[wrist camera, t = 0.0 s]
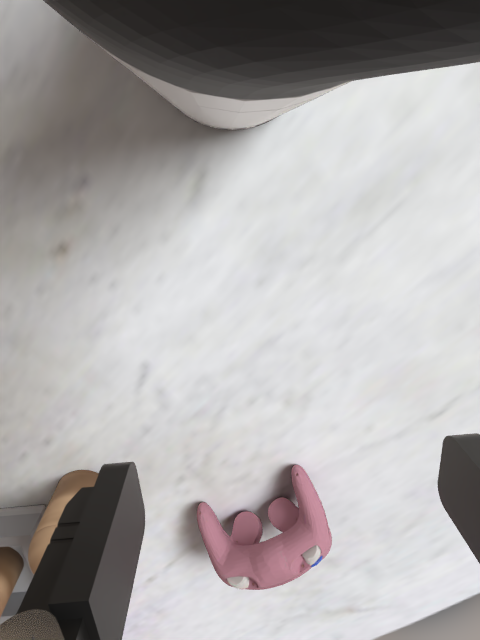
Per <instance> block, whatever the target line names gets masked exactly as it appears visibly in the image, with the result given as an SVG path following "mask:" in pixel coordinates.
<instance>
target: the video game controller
mask: <svg viewBox="0 0 480 640" xmlns="http://www.w3.org/2000/svg"><path fill="white" fill-rule="evenodd" d="M291 476H292V485H293V488H294V491H295V495H296V498H297V501H298V506H299V508H298V507H296V506H295V505H294V504H293V503H292V502H291V501H290V500H288V499H287V498H283V497H281V498H277V499H275V500H274V501H273V502H272V503H271V504H270V506H269V509H268V516H269V519H270V522H271V523H272V524H273V526H275V527H276V528H277V529H279V530H280V531H282V532H283V533H282V534H280V535H278V536H276V537H273V538H271V539H269V540H266V541H263V542H260V543H259V541H260V539H261V536H262V523H261V521H260V519H259V518H258V516H257V515H255V514H254V513H252V512H248V511H245V512H242V513H240V514H238V515H237V517H236V518H235V521H234V524H233V530H232V534H231V536H229V535H228V534H227V533H226V532H225V531H224V530H223V528H222V526H221V524H220V522H219V521H218V519H217V517H216V515H215V513H214V512H213V510H212V509H211V508H210V506H209V505H207V503H205V502H202V503H200V504H199V505H198V509H197V521H198V526H199V529H200V532H201V535H202V538H203V541H204V544H205V546H206V549H207V552H208V554H209V557H210V559H211V562H212V564H213V567H214V569H215V571H216V573H217V574H218V576H219V577H220V578H221V579H222V581H223V582H225V583H226V584H228V585H229V586H232V587H235V588H237V589H250V590H260V589H268V588H273V587H276V586H280V585H283V584H285V583H288V582H290V581H292V580H294V579H296V578H298V577H300V576H301V575H303V574H304V573H305V572H307V571H308V570H309V569H311V568H312V567H314V566H316V565H317V564H318V563H319V562H320V561H321V560H322V559H323V558H325V557H326V555H327V554H328V552H329V551H330V548H331V544H332V537H331V532H330V529H329V527H328V523H327V519H326V515H325V511H324V509H323V506H322V503H321V501H320V499H319V496H318V494H317V492H316V490H315V488H314V486H313V484H312V482H311V480H310V478H309V477H308V475H307V473H306V472H305V470H304V469H303V468H302V467H301V466H299V465H294V466H293V467H292V471H291Z"/></svg>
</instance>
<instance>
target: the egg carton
mask: <svg viewBox="0 0 480 640" xmlns="http://www.w3.org/2000/svg"><path fill="white" fill-rule="evenodd" d="M45 510H46V506H45V505H35V506H24V507H12V508H0V547H8V546H9V547H11V548H13V549H14V550H16V551H17V552H18V553H19V554H20V555H21V557H22V558H23V561H24V567H23V570H22V572H21V574H20V576H19V578H18V581H17V583H16V585H15V587H14V589H13V591H12V593H11V596H10V598H9V600H8V602H7V604H6V606H5V609H4V611H3V613H2V615H1V617H0V624H2V623H3V622H4V621H6V620H7V619H9V618H11V617H12V616H14V615H16V613H17V611H18V609H19V607H20V605H21V603H22V601H23V599H24V596H25V594H26V592H27V590H28V587H29V585H30V583H31V581H32V579H33V576H34V574H33V573H32V571H31V569H30V566H29V562H28V550H29V545H30V542H31V540H32V537H33V535H34V533H35V531H36V529H37V527H38V525H39V523H40V521H41V519H42V516H43V514H44V512H45Z"/></svg>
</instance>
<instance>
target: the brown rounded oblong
mask: <svg viewBox="0 0 480 640" xmlns="http://www.w3.org/2000/svg"><path fill="white" fill-rule="evenodd" d="M98 475H99V473H96V472H93V471H89V470H77V471H72V472H70V473H68V474H66V475H65V476H63V477H62V478H61V480H60V481H59V483H58V485H57V487H56V489H55V491H54V493H53V496H52V498H51V500H50V502H49V504H48V506H47V508H46V510H45V512H44V514H43V516H42V519H41V521H40V523H39V525H38V527H37V529H36V531H35V533H34V535H33V537H32V540H31V542H30V545H29V550H28V562H29V566H30V569H31V571H32V573H33V574H35V572H36V570H37V568H38V565H39V563H40V561H41V559H42V557H43V554H44V552H45V550H46V548H47V546H48V544H50V539H51V537H52V534H53V532H54V530H55V528H56V527H57V526H58V524H57V523H58V521H59V519H60V517H61V515H62V512H63V510H64V508H65V506H66V504H67V503H68V502H69V501H70V500H71V499H72V498H73V497H74V495H75V494H76V493H77V492H78V491H79V490H80V489H81V488H83V487H94V485H95V482H96V480H97V477H98Z"/></svg>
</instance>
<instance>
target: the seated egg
mask: <svg viewBox="0 0 480 640" xmlns="http://www.w3.org/2000/svg"><path fill="white" fill-rule="evenodd" d="M23 567H24V561H23V558H22V557H21V555H20V554H19V553H18V552H17V551H16V550H14V549H13V548H11V547H9V546H8V547H0V617H1V615H2V613H3V611H4V609H5V606H6V604H7V602H8V600H9V598H10V596H11V593H12V591H13V589H14V587H15V585H16V583H17V581H18V578H19V576H20V574H21V572H22V570H23Z"/></svg>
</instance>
